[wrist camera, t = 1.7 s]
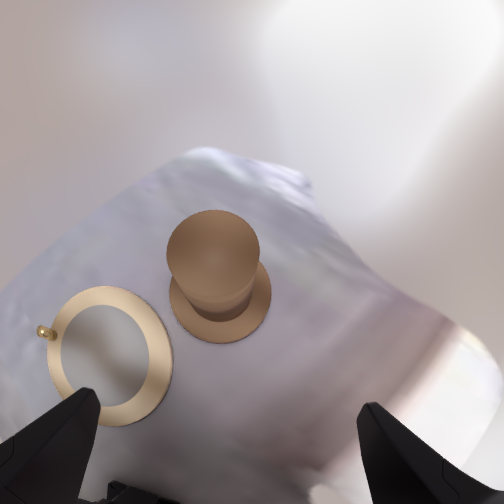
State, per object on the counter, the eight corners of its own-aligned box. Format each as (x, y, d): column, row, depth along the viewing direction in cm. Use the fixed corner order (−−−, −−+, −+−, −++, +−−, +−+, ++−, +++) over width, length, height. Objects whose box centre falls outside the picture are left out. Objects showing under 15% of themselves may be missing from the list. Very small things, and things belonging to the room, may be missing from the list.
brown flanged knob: (261, 351, 21) (276, 338, 13) (163, 331, 22) (122, 305, 13) (275, 259, 25) (294, 201, 17) (186, 244, 25) (165, 181, 17)
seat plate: (159, 444, 18) (147, 452, 15) (43, 394, 18) (24, 393, 15) (187, 306, 23) (180, 296, 20) (72, 276, 23) (56, 264, 20)
